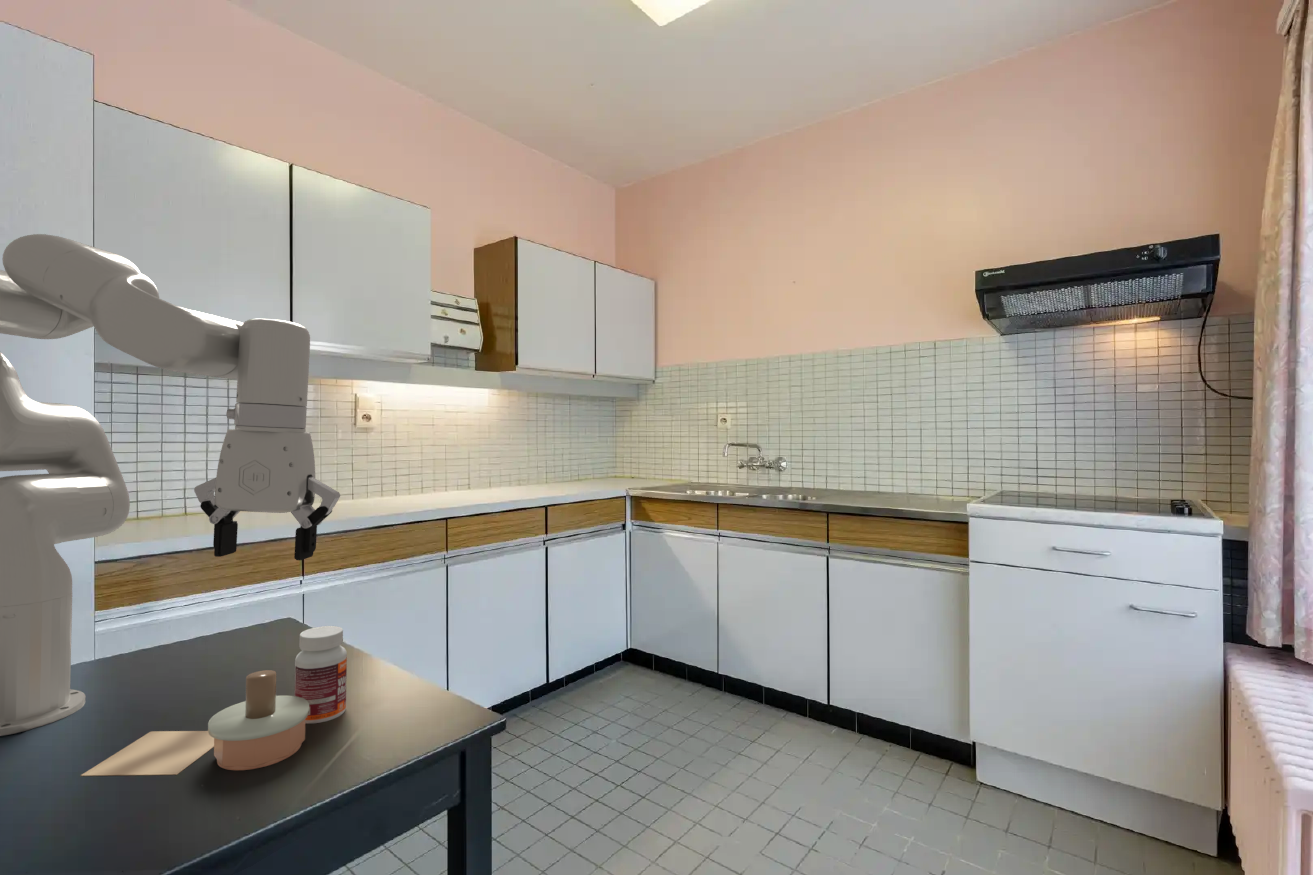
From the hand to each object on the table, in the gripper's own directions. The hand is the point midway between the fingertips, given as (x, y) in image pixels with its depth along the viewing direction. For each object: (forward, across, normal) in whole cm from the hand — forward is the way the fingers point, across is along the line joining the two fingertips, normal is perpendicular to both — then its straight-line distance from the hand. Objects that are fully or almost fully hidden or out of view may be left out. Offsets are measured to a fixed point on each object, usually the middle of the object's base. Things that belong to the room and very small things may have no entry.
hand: (264, 556), depth 77 cm
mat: (+23, -8, -5) cm, 24 cm away
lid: (+18, +3, -5) cm, 19 cm away
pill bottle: (+22, +5, +6) cm, 24 cm away
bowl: (+22, +3, -5) cm, 23 cm away
